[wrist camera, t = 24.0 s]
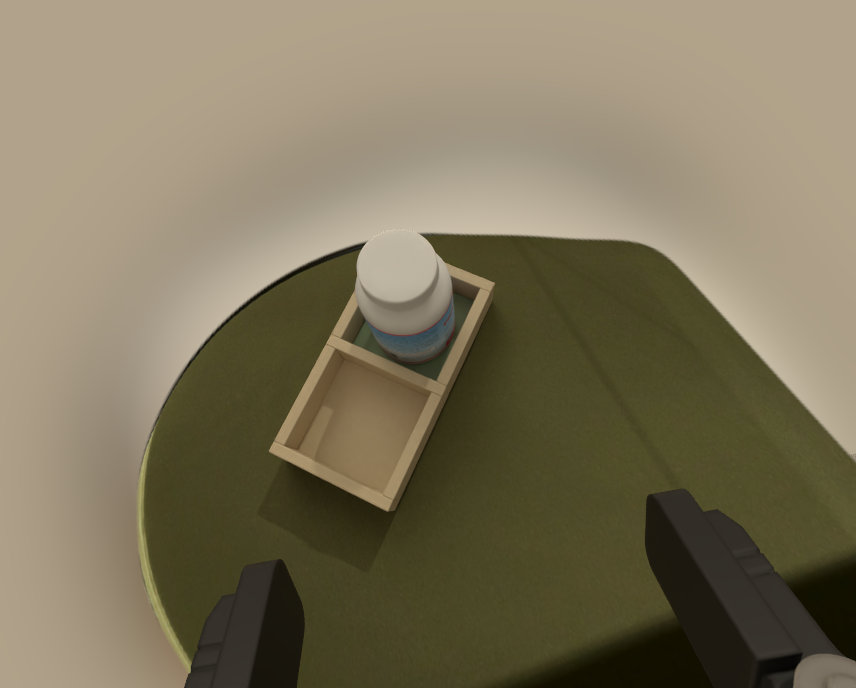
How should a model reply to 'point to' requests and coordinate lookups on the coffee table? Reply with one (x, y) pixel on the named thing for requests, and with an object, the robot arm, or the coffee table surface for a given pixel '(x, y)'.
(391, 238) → the pill bottle
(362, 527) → the coffee table surface
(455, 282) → the holder
